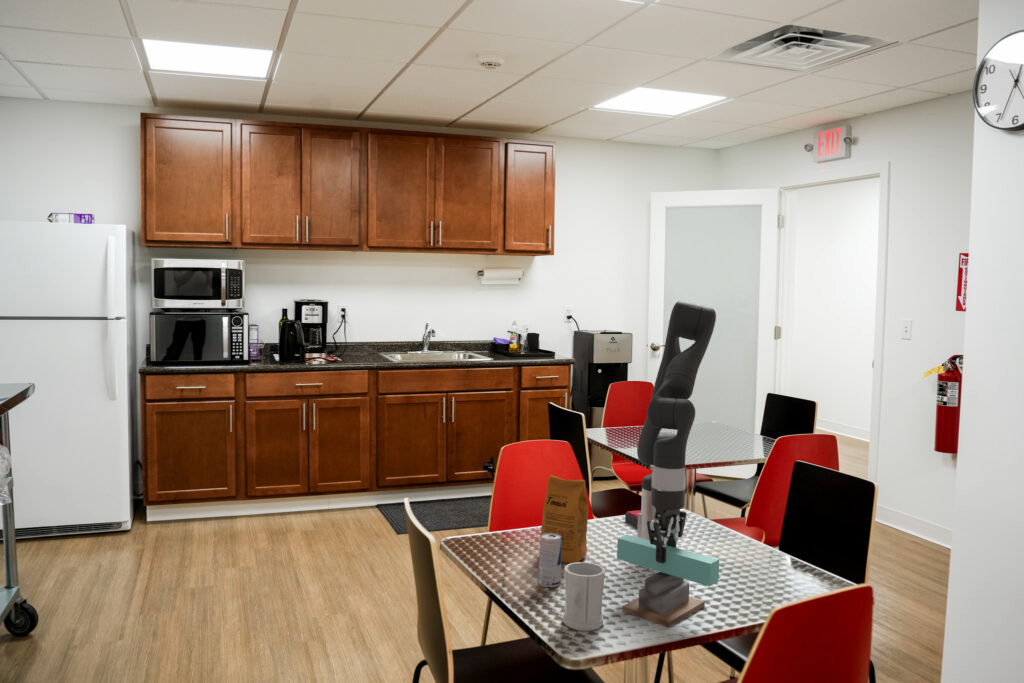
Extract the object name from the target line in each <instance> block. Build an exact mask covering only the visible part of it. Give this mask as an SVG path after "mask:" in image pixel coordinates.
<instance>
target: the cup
mask: <svg viewBox="0 0 1024 683" xmlns="http://www.w3.org/2000/svg"><path fill="white" fill-rule="evenodd" d="M563 570H564V589H565V593H564V594H565V601H564V602H565V604H564V605H565V607H564V608H565V611H564V612H563V613H562V614H563V615H562V622H563V623H564V625H565V626H567V627H568V628H570V629H572V630H576V631H580V632H590V631H595V630H598V629H599V628H601V627H602V626H603V625H604V615H603V614H602V613H603V612H602V611H603V609H602V608H603V596H604V595H603V594H604V585H605V576H606V570H605V568H604V567H603V566H602V565H600V564H596V563H592V562H584V561H583V562H582V561H579V562H575V563H567V564H566V565H565V566H564V569H563Z"/></svg>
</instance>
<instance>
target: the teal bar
mask: <svg viewBox="0 0 1024 683" xmlns="http://www.w3.org/2000/svg"><path fill="white" fill-rule="evenodd" d="M616 547H617V548H616V550H617V551H616V559H617V560H618V561H619V560H620V561H622V562H625V563H626V562H627V563H629V564H631V565H636V566H639V567H642V568H646V569H650V570H653V571H656V572H663V573H666V574H669V575H673V576H676V577H679V578H683V579H684V580H686V581H689V582H693V583H696V584H700V585H703V586H706V587H712V586H713V585H715V584H717V583H718V582H719V576H720V575H719V574H720V571H719V570H720V558H715V557H712V556H709V555H704V554H700V553H697V552H693V551H690V550H686V549H682V548H680V547H679V548H678V547H676V548H675V547H671V546H667V545H666V562H665V563H659V562H657V561H656V545H652V544H650V541H649V540H645V539H642V538H638V537H637V536H634V535H629V534H625V535H622V536H619V537H617V546H616Z"/></svg>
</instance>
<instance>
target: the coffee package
mask: <svg viewBox="0 0 1024 683" xmlns="http://www.w3.org/2000/svg"><path fill="white" fill-rule="evenodd" d="M586 485H587V482H586V479H563V478H560V477H558V476H555V475H553V474H551V475H550V476H549V478H548V483H547V486H546V494H545V496H544V497H545V498H544V502H543V503H544V504H543V507H542V508H543V509H542V519H541V529H540V530H541V531H540V536H541V535H542V534H546V533H554V534H558V535H560V536H561V539H562V551H561V562H564V563H563V564H570V563H575V562H581V560H582V559H583V558H585V557H587V556H586V555H587V551H588V550H587V549H588V548H587V547H588V546H587V544H588V543H587V532H588V523H589V522H588V521H589V518H588V517H589V514H588V513H589V502H588V495H587V491H586V490H587V489H586Z"/></svg>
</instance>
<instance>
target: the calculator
mask: <svg viewBox="0 0 1024 683" xmlns="http://www.w3.org/2000/svg"><path fill="white" fill-rule="evenodd" d="M639 513H641V509H640V510H631V511H626V512H625V515H624V516H625V517H624V521H625V522H626V523H627V524H629V523H630V525H631V526H633V527H634V528H637V529H638V514H639ZM679 529H680V526H679Z"/></svg>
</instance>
